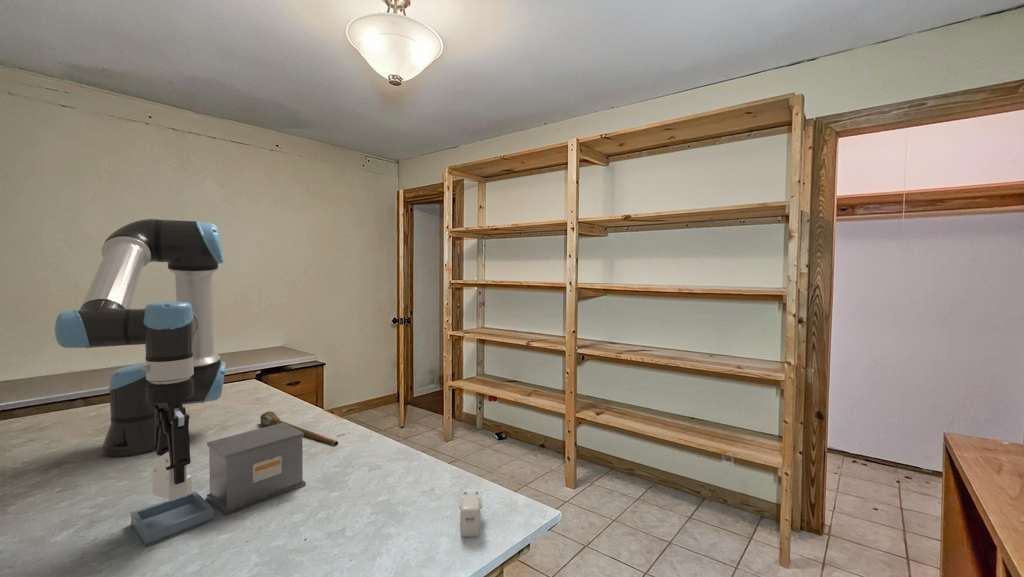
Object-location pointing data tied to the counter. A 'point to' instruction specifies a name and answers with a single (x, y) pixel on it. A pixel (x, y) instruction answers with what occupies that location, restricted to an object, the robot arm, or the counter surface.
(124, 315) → the robot arm
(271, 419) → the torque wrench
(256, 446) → the box
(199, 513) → the tray
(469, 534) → the power adapter
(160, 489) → the white wedge bracket
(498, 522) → the counter surface
